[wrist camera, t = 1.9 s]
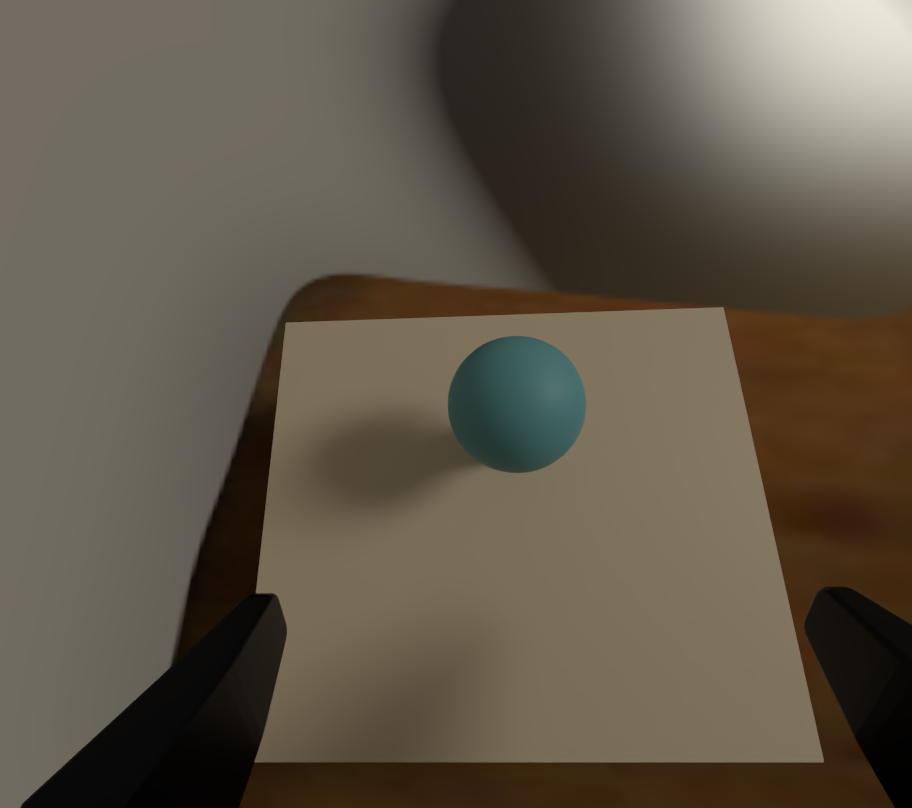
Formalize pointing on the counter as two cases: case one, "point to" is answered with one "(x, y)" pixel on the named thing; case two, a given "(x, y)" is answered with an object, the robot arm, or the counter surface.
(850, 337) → the counter surface
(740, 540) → the carton lid
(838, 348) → the counter surface
